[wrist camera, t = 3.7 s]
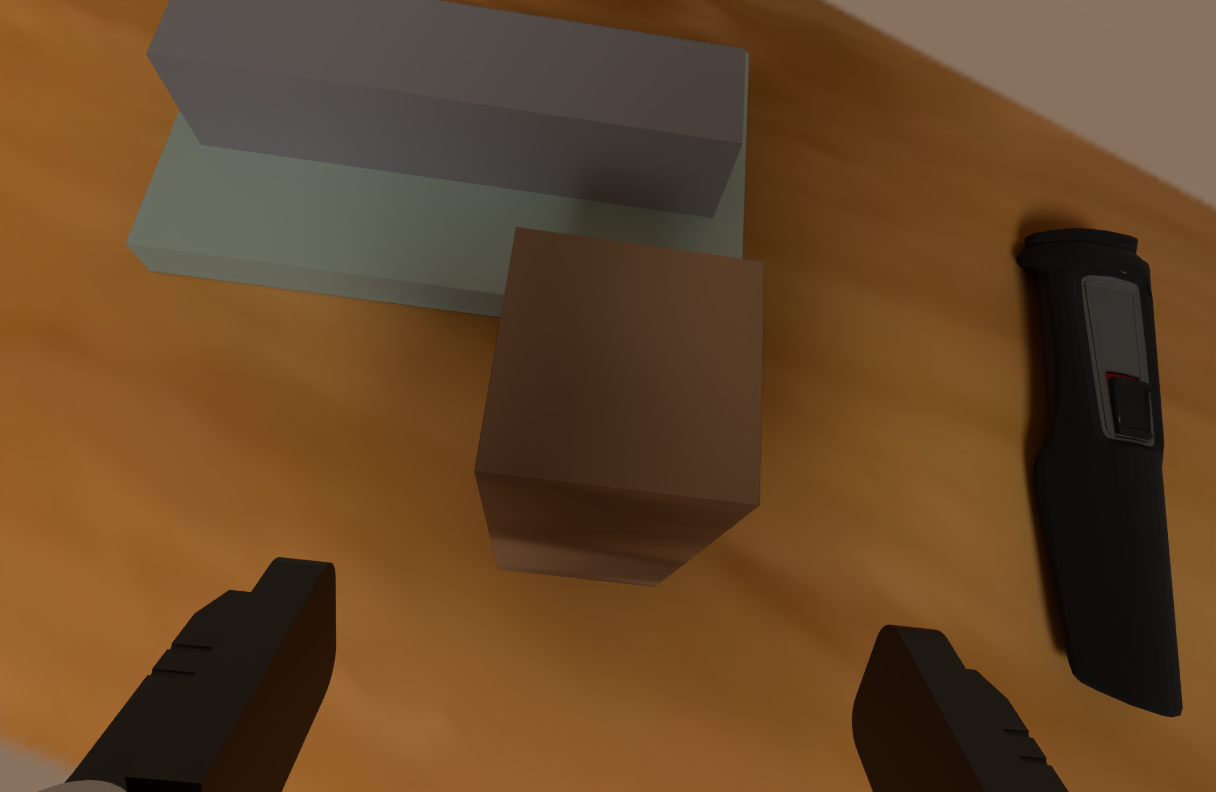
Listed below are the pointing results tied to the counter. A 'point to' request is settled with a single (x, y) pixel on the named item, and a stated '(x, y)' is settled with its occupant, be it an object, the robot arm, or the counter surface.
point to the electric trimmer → (1105, 466)
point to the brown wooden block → (620, 407)
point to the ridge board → (376, 227)
